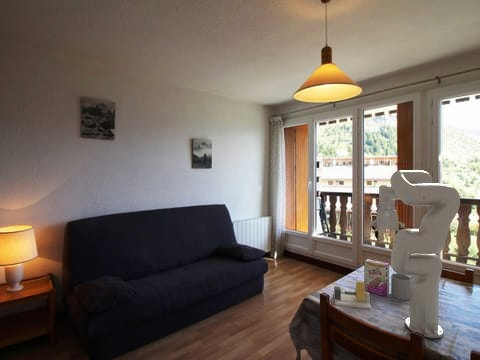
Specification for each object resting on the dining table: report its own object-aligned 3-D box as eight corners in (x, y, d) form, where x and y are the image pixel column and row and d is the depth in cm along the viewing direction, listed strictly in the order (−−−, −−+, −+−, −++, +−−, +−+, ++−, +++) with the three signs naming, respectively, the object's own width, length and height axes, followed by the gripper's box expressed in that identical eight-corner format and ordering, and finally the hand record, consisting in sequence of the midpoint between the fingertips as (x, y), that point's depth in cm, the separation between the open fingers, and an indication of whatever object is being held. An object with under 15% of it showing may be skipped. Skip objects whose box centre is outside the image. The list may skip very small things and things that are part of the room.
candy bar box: (363, 290, 136) (363, 260, 136) (366, 287, 140) (366, 258, 140) (387, 297, 129) (387, 265, 128) (389, 294, 132) (389, 263, 132)
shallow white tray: (371, 309, 118) (371, 297, 118) (335, 304, 123) (335, 293, 123) (366, 297, 129) (366, 286, 129) (333, 294, 133) (333, 283, 133)
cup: (413, 300, 125) (413, 280, 125) (395, 299, 127) (395, 279, 127) (405, 292, 134) (405, 274, 133) (388, 291, 135) (388, 273, 135)
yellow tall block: (365, 301, 122) (365, 284, 122) (356, 300, 123) (356, 283, 123) (363, 296, 126) (363, 280, 126) (355, 296, 127) (355, 279, 127)
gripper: (370, 208, 137) (370, 239, 138) (407, 208, 132) (407, 241, 133) (368, 206, 145) (368, 236, 145) (402, 207, 139) (402, 238, 140)
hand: (386, 238), depth 139 cm, fingers open, 9 cm apart
